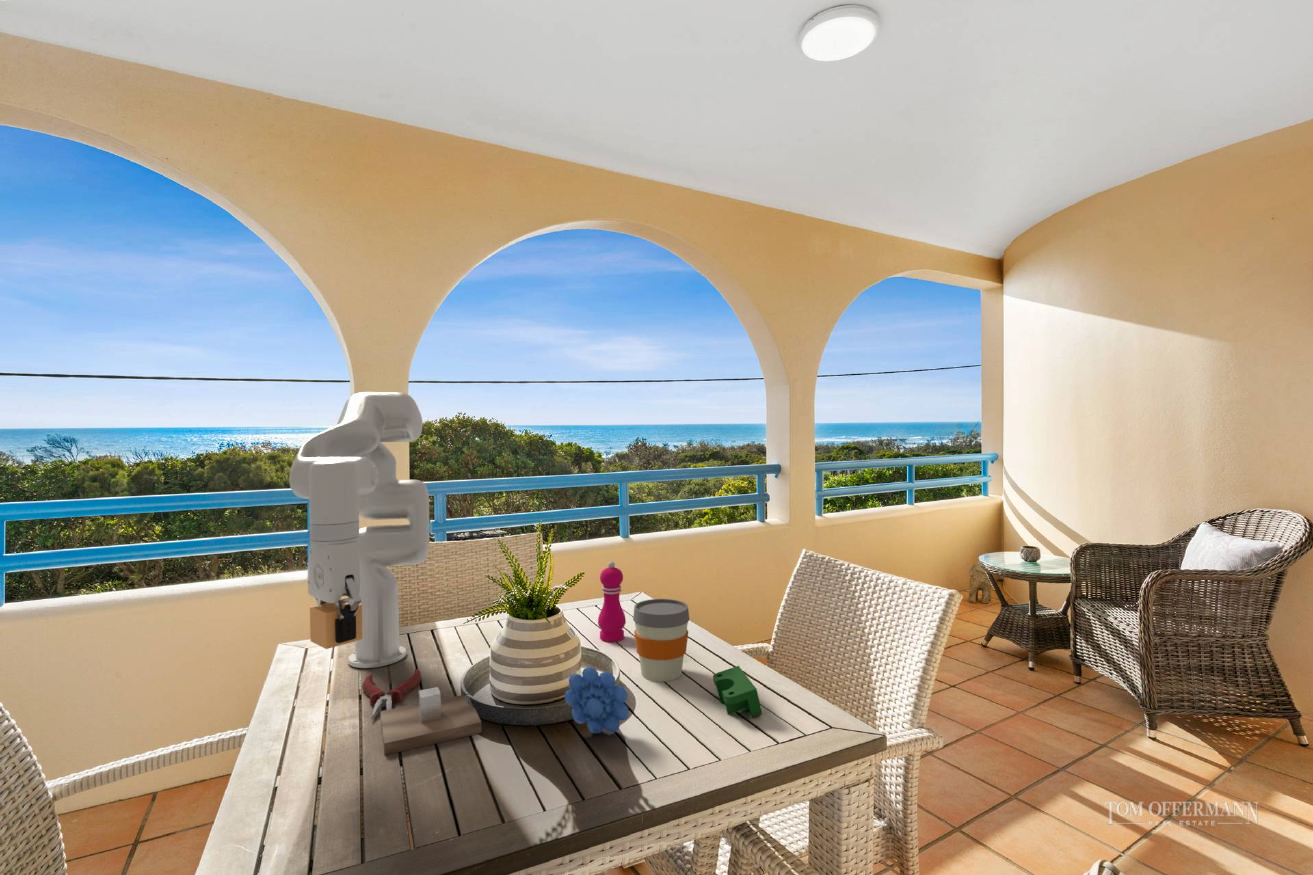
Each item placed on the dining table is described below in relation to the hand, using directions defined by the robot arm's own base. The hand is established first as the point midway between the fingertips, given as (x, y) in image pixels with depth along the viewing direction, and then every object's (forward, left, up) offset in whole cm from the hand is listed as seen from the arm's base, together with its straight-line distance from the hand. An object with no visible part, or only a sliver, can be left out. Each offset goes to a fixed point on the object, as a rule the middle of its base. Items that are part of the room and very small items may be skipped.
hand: (336, 635), depth 105 cm
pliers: (-18, +7, -20) cm, 28 cm away
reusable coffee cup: (-2, +64, -20) cm, 67 cm away
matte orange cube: (0, 0, -1) cm, 1 cm away
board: (0, +15, -19) cm, 24 cm away
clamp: (+19, +69, -20) cm, 75 cm away
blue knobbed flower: (+17, +41, -20) cm, 48 cm away
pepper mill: (-28, +63, -20) cm, 72 cm away
